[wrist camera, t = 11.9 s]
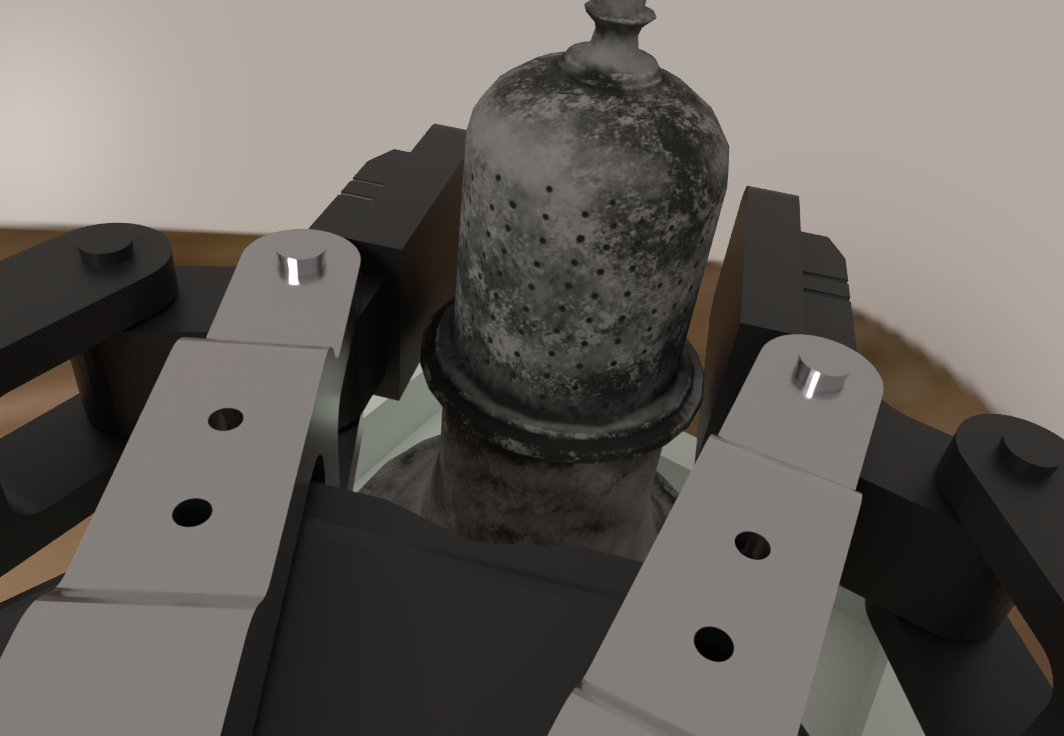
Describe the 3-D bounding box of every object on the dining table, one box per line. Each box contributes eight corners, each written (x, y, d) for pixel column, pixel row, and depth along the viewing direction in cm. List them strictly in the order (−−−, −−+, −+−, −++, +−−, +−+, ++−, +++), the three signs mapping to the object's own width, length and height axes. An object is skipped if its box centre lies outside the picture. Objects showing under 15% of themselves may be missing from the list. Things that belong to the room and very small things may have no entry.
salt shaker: (580, 520, 19) (712, -104, 11) (738, 773, 15) (1107, 67, 7) (303, 599, 16) (240, -117, 9) (402, 923, 12) (435, 119, 5)
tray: (-50, 795, 14) (-103, 715, 13) (437, 390, 23) (441, 314, 22) (663, 1490, 10) (718, 1497, 8) (928, 648, 19) (979, 574, 17)
